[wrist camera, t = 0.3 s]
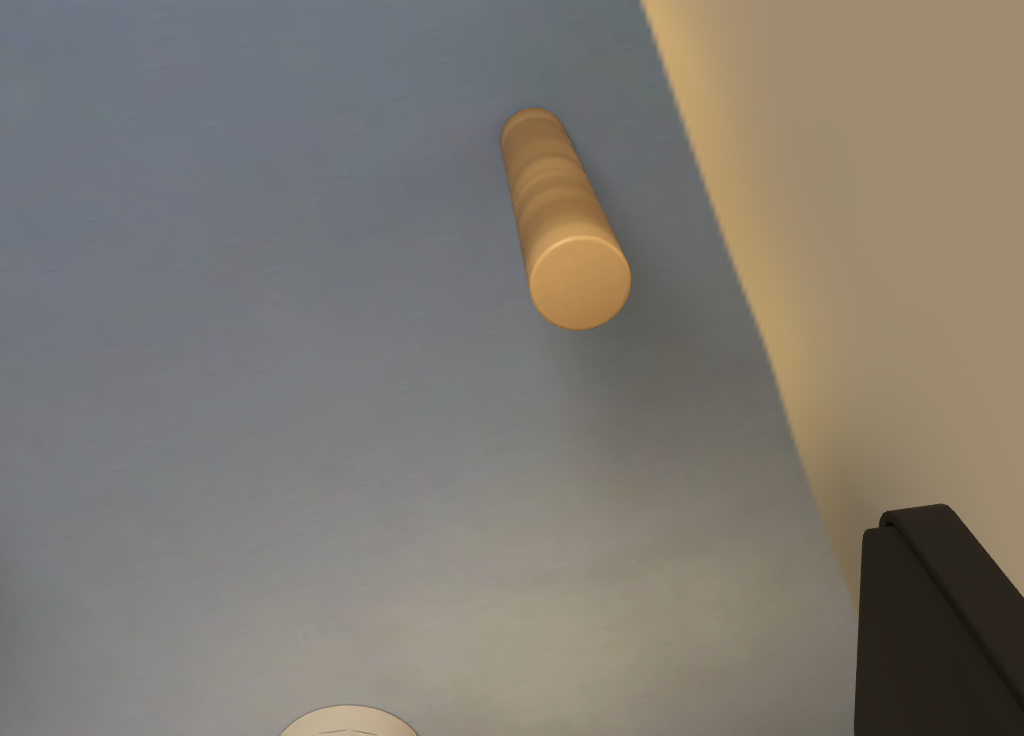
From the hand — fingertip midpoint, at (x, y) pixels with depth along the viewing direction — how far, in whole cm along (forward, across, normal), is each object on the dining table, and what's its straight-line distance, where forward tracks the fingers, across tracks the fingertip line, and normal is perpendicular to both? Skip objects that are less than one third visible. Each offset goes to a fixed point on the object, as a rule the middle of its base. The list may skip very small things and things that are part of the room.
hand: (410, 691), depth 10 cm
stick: (+22, -3, 0) cm, 23 cm away
